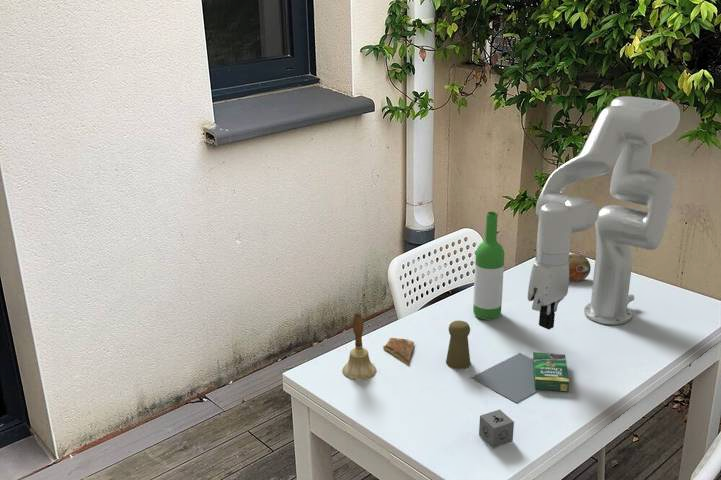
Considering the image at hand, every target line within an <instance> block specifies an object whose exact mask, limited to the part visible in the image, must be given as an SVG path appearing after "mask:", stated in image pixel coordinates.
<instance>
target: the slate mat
mask: <svg viewBox="0 0 721 480" xmlns="http://www.w3.org/2000/svg"><path fill="white" fill-rule="evenodd" d="M470 379H471V380H473V381H475V382H477V383H479V384H480V385H481V386H482V385H483V386H484V387H486V388H488V389H490V390H491V391H494V393H497V394H499V395H500V396H502V397H504V398H506V399H508V400H509V401H512V402H513V403H515V404H518V403H520V402H522V401H523V400H525V399H527V398H528V397H531V396H532V395H534V394H536V393H537V392H539V391H541V389H535V386H534V373H533V357H532V358H531V357H529V356H527V355H525V354H523V353H521V352H519V353H517V354H515V355H513V356H510V357H509V358H507V359H504V360H503V361H501V362H499V363H497V364H495V365H493V366H490V367H489V368H487V369H485V370H483V371H481V372H479V373H477V374H475V375H473V376H471V377H470Z"/></svg>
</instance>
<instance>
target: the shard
mask: <svg viewBox="0 0 721 480" xmlns="http://www.w3.org/2000/svg"><path fill="white" fill-rule="evenodd" d="M414 345H415V342H414V341H413V340H410V339H405V338H396V337H389V338H388V341H387V342H386V343H385V345H383V346H382V349H383V350H385V351H386V352H388V353H391V354H392V355H393V356H394V355H395V356H394V357H396V358H397V359H398V358H399V359H398V360H400V361H401V360H402V361H401V362H403V363H405V364H407V365H409V363H410V360H411V359H410V358H411V355H412V352H413V349H414Z"/></svg>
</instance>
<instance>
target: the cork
mask: <svg viewBox="0 0 721 480" xmlns="http://www.w3.org/2000/svg"><path fill="white" fill-rule="evenodd" d="M470 333H471V327H470V324H469V323H468V322H466V321H465V320H464V321H463V320H454V321H451V323H450V324H449V326H448V334H449V335H450V337H449V343H448V349H447V353H446V358H445V359H446V360H445V364H446V365H447V367H449V368H452V369H455V370H464V369H467V368H468V367H470V366H471V356H470V347H469V346H470V345H469V338H468V337H469V336H470Z"/></svg>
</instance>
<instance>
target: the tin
mask: <svg viewBox="0 0 721 480" xmlns="http://www.w3.org/2000/svg"><path fill="white" fill-rule="evenodd" d="M590 273H591V263H590V261H589V260H588V258H587V257H586V256H585V255H583V254H581V253H576V252H575V253H573V252H572V253H570V252H569V282H580V281H583V280H585V279H586V278H588V276H589V275H590Z"/></svg>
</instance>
